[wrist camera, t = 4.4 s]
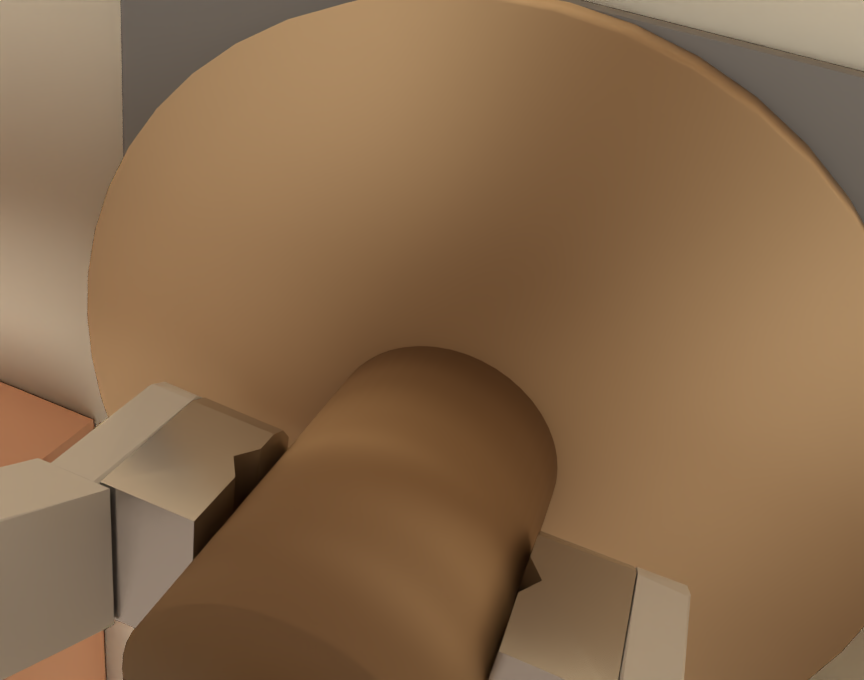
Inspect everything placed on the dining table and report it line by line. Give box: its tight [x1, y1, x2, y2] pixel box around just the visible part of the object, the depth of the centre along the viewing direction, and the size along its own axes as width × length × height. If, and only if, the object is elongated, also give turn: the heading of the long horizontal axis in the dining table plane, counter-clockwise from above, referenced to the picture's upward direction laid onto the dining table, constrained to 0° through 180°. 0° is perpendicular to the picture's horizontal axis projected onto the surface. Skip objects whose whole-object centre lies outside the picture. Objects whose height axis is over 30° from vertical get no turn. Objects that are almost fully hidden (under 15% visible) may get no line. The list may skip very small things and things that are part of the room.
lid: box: [87, 0, 864, 680], centre depth 8 cm, size 10×10×5 cm
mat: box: [121, 0, 864, 223], centre depth 10 cm, size 10×10×1 cm
